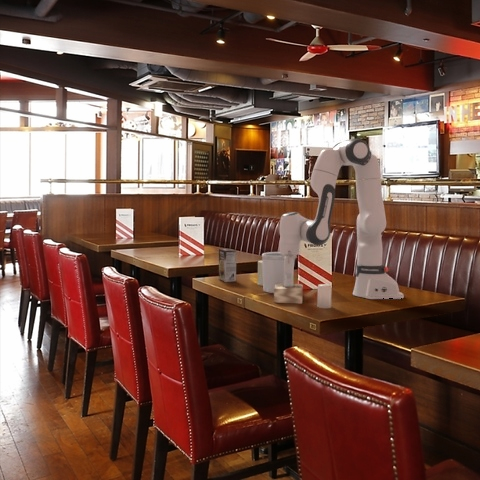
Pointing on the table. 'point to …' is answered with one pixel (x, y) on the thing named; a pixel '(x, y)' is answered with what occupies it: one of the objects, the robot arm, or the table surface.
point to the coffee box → (227, 265)
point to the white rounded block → (324, 296)
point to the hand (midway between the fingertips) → (288, 281)
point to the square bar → (286, 281)
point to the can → (260, 273)
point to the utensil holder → (272, 270)
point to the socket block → (288, 293)
